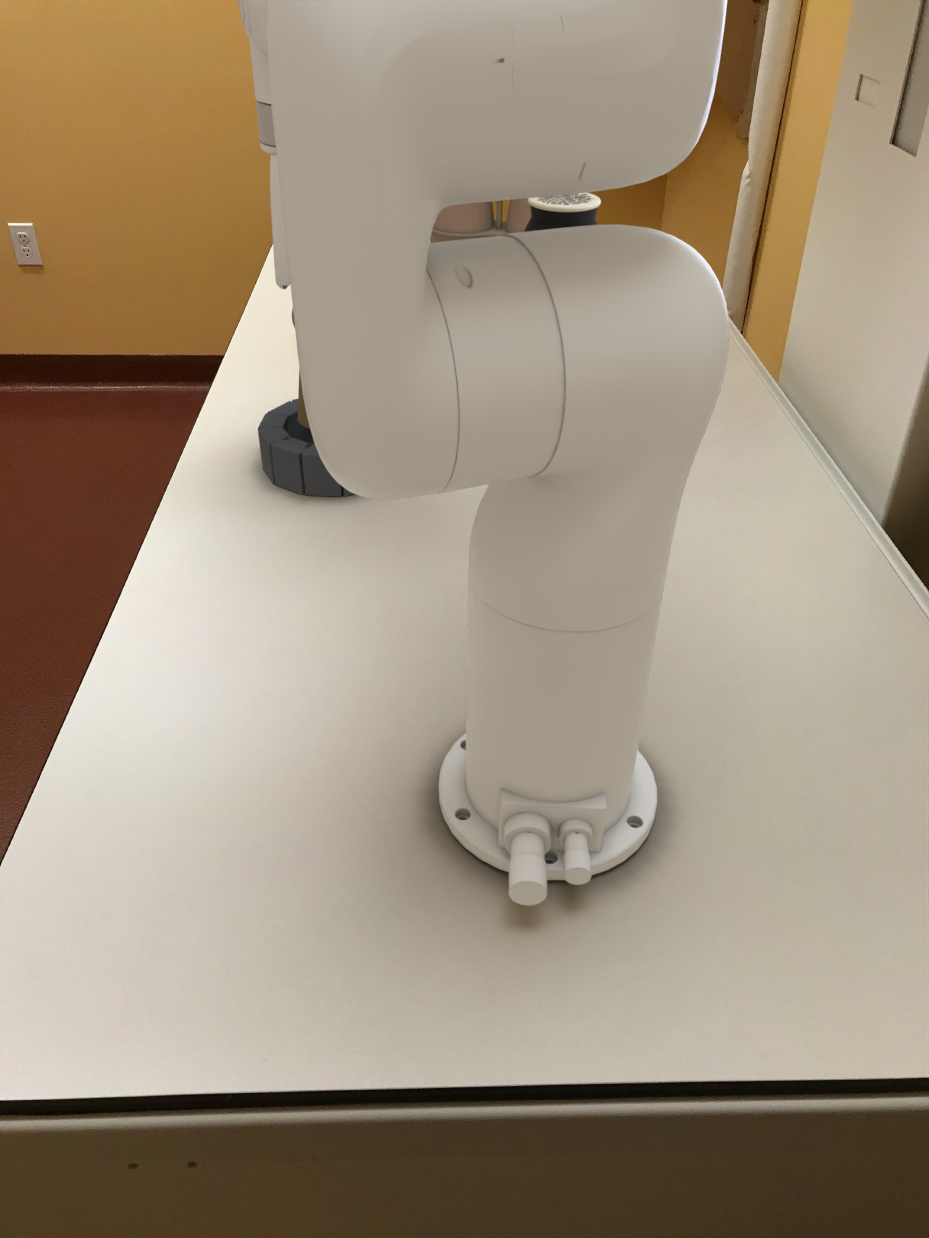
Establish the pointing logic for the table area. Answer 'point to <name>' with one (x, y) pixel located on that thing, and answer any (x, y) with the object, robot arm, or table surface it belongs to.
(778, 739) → the table surface
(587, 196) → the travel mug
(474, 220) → the binoculars
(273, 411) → the segmented block ring
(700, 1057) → the table surface
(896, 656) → the table surface
